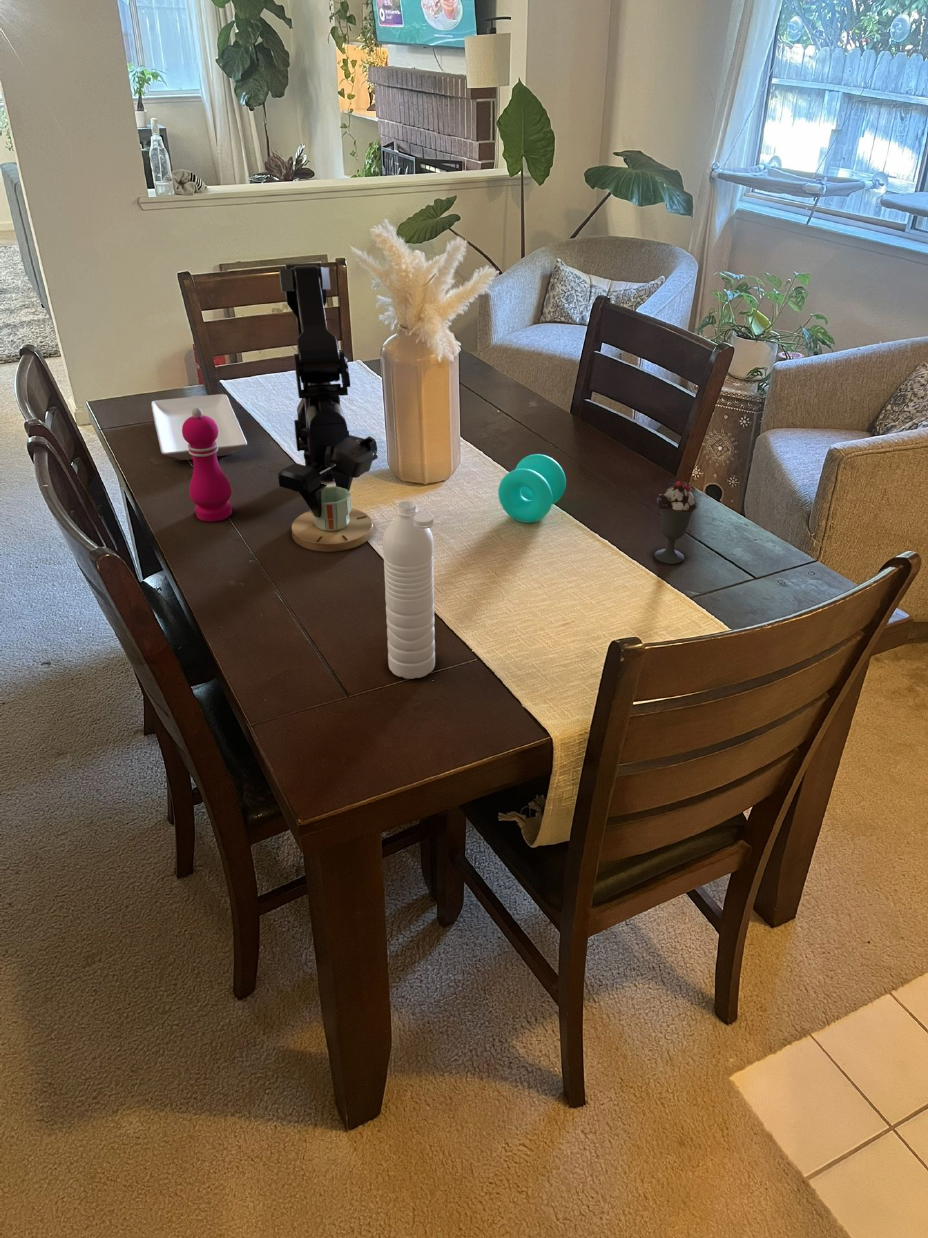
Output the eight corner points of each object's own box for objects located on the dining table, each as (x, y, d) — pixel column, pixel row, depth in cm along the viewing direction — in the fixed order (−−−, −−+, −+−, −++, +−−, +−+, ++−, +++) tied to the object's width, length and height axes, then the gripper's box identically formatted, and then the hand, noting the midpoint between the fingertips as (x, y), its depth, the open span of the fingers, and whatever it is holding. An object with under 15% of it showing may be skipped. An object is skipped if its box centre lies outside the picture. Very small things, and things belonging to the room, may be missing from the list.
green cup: (328, 511, 163) (325, 482, 160) (360, 520, 160) (358, 492, 157) (303, 526, 158) (300, 497, 155) (336, 536, 156) (334, 507, 152)
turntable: (304, 511, 167) (303, 503, 166) (380, 516, 166) (379, 508, 165) (282, 548, 155) (281, 540, 154) (363, 554, 154) (363, 545, 153)
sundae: (691, 550, 156) (705, 469, 147) (686, 569, 150) (700, 485, 142) (652, 544, 158) (664, 463, 149) (646, 562, 152) (657, 479, 144)
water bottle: (380, 660, 129) (371, 499, 115) (421, 647, 131) (417, 488, 118) (409, 694, 122) (404, 527, 109) (451, 679, 125) (451, 515, 111)
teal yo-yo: (494, 518, 165) (496, 467, 160) (516, 497, 173) (518, 447, 167) (546, 530, 162) (550, 478, 156) (566, 507, 169) (570, 457, 164)
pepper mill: (222, 525, 162) (204, 417, 151) (186, 520, 164) (165, 413, 153) (241, 507, 168) (225, 402, 157) (206, 503, 170) (188, 398, 158)
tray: (228, 406, 211) (226, 391, 209) (249, 458, 187) (247, 442, 185) (152, 414, 206) (149, 399, 204) (164, 469, 182) (161, 453, 180)
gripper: (327, 452, 139) (334, 542, 148) (397, 414, 153) (400, 499, 161) (271, 437, 144) (281, 525, 152) (343, 401, 157) (349, 485, 166)
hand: (330, 508), depth 158 cm, fingers closed on green cup, 7 cm apart
